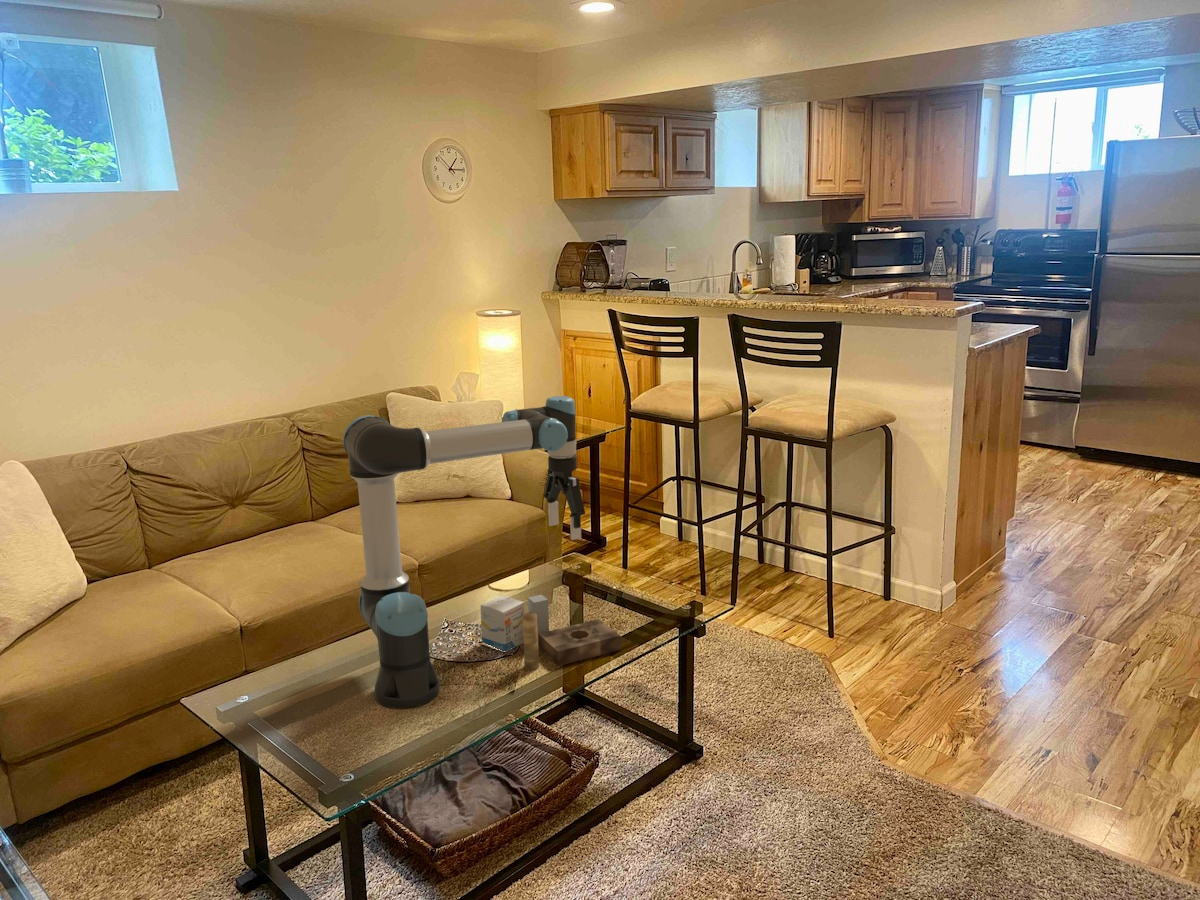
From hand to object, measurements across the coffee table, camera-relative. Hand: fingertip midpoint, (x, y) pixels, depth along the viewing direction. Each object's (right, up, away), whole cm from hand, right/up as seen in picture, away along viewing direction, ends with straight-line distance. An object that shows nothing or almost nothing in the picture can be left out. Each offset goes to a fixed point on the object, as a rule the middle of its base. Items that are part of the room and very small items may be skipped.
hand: (564, 531), depth 239 cm
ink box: (-16, -30, -2) cm, 34 cm away
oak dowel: (-8, -33, -16) cm, 37 cm away
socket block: (+4, -30, -6) cm, 31 cm away
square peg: (-7, -29, -1) cm, 30 cm away
